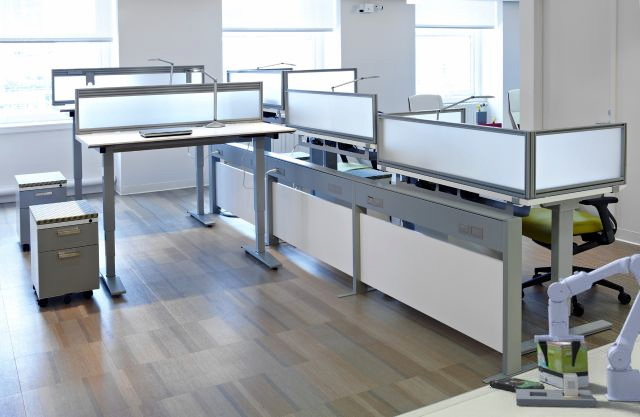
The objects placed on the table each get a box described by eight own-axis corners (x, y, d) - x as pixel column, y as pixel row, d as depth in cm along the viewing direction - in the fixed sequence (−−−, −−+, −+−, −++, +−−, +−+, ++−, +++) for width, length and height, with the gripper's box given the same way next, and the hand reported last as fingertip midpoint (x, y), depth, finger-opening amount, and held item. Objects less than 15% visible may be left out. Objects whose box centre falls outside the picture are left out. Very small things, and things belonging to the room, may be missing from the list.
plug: (577, 400, 232) (575, 373, 232) (578, 403, 227) (577, 376, 227) (564, 399, 233) (563, 373, 233) (565, 403, 228) (564, 376, 228)
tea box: (537, 381, 262) (535, 337, 262) (563, 379, 264) (561, 335, 265) (563, 389, 247) (561, 343, 248) (590, 387, 250) (588, 341, 250)
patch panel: (590, 396, 236) (589, 389, 236) (595, 407, 222) (595, 399, 222) (516, 395, 241) (515, 388, 241) (516, 405, 227) (516, 398, 227)
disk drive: (489, 389, 254) (522, 396, 242) (488, 380, 254) (522, 387, 242) (511, 385, 260) (545, 391, 247) (511, 376, 260) (545, 382, 247)
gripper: (534, 323, 235) (536, 367, 235) (584, 323, 232) (586, 368, 232) (533, 320, 242) (535, 363, 242) (582, 320, 239) (583, 364, 239)
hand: (560, 365), depth 237 cm, fingers open, 7 cm apart
